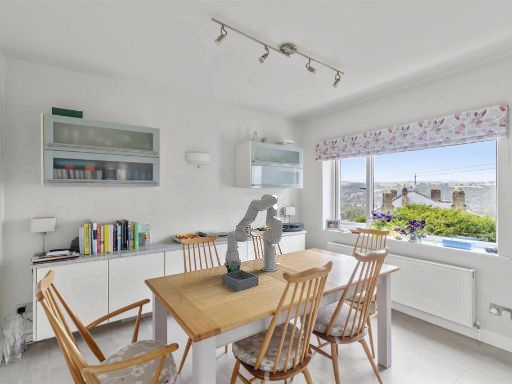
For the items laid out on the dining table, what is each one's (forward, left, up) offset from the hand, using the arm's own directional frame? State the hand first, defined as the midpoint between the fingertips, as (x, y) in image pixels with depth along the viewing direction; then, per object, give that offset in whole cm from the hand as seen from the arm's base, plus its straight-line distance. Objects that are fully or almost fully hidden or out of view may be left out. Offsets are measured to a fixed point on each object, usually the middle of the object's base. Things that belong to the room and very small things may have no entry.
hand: (232, 272), depth 204 cm
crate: (+8, +19, -2) cm, 20 cm away
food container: (+1, 0, -2) cm, 2 cm away
